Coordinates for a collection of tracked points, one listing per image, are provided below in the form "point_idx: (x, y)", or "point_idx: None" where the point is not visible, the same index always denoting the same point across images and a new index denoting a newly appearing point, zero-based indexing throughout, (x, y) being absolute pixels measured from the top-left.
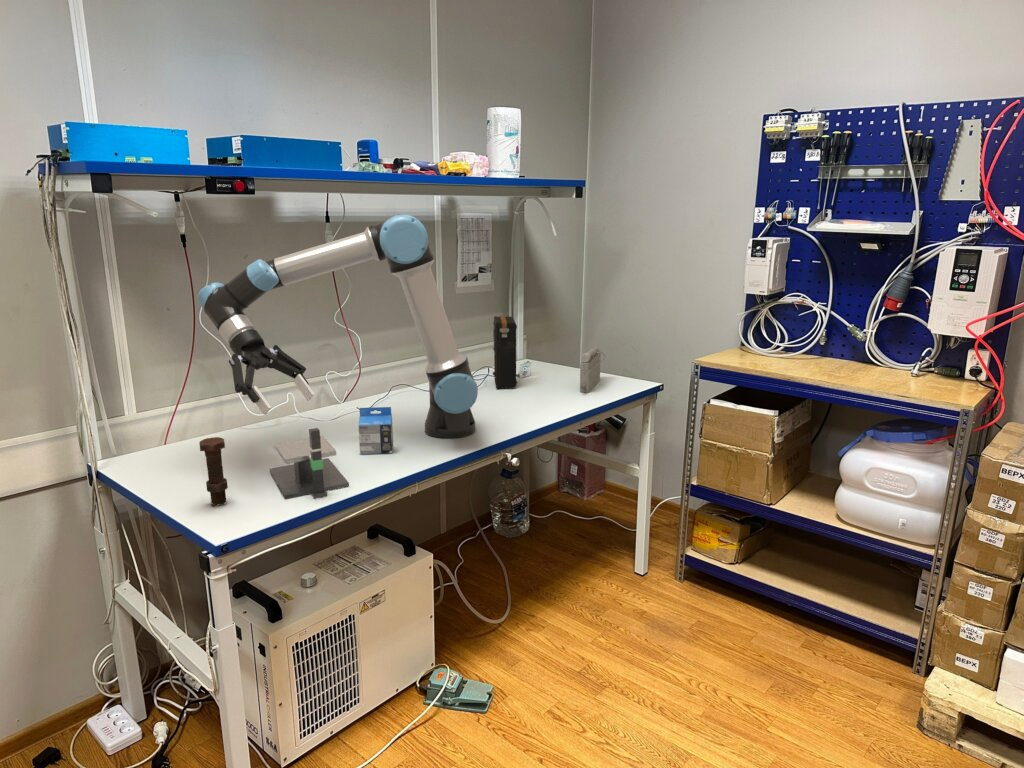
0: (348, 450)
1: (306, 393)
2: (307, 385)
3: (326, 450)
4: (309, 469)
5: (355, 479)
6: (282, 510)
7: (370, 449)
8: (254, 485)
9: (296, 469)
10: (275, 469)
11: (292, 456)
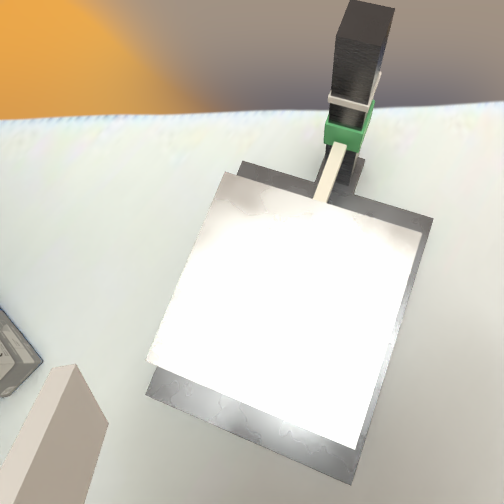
0: None
1: (79, 439)
2: (20, 450)
3: (247, 200)
4: None
5: (197, 197)
6: (473, 161)
7: (11, 333)
8: (450, 405)
9: None
10: (339, 453)
11: (381, 240)
